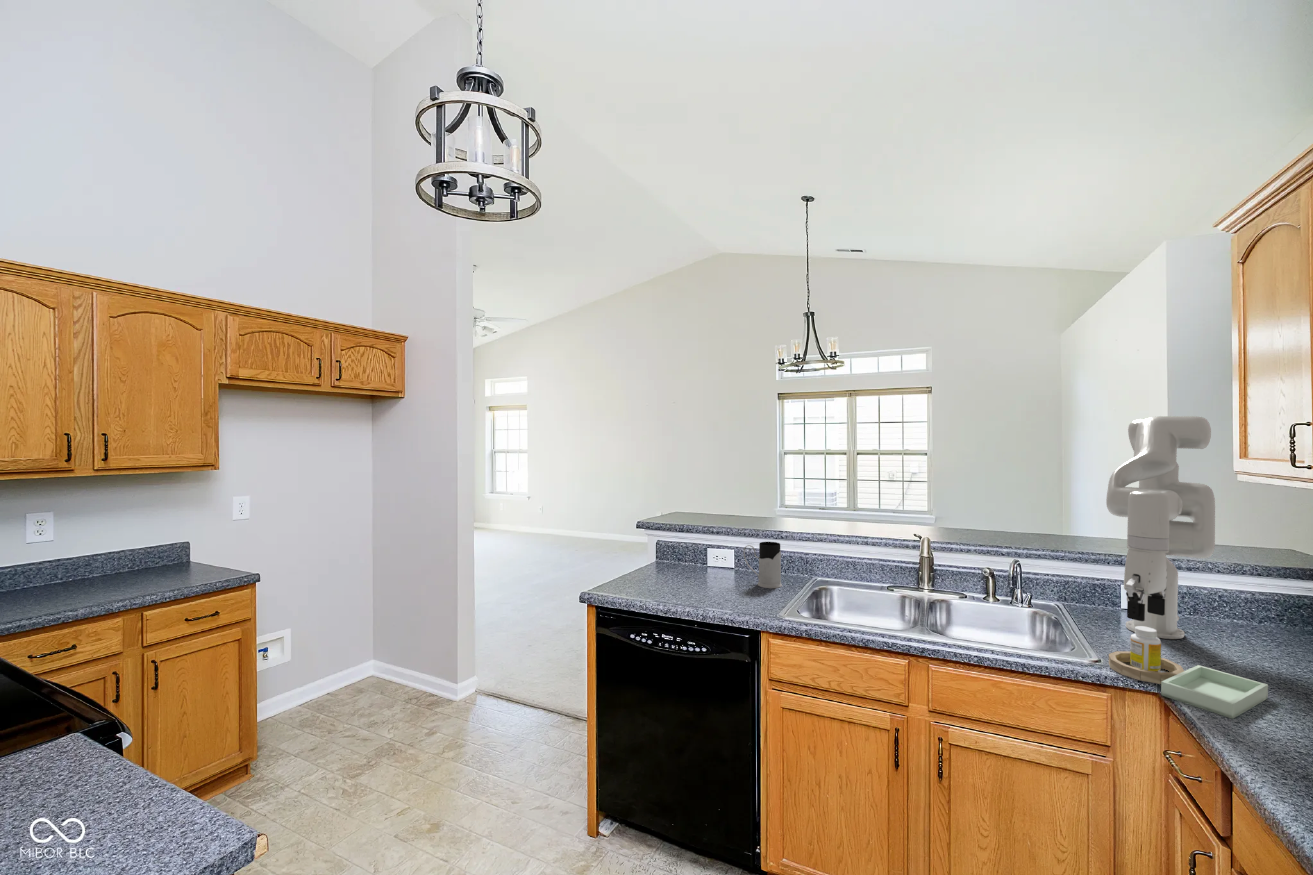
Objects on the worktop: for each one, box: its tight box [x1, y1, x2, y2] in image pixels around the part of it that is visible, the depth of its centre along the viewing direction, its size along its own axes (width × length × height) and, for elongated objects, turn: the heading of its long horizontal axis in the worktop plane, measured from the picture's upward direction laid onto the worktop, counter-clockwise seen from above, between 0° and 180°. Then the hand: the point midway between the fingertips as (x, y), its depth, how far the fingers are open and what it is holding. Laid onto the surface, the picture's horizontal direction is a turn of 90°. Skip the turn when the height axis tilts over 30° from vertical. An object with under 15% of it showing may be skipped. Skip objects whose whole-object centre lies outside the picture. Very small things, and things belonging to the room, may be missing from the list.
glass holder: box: [743, 541, 783, 589], centre depth 216 cm, size 9×14×15 cm, turn 64°
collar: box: [1108, 650, 1185, 685], centre depth 140 cm, size 13×13×2 cm
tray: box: [1160, 664, 1269, 720], centre depth 127 cm, size 18×12×3 cm, turn 119°
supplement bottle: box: [1129, 626, 1162, 672], centre depth 140 cm, size 6×6×10 cm
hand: (1146, 616), depth 139 cm, fingers open, 9 cm apart
